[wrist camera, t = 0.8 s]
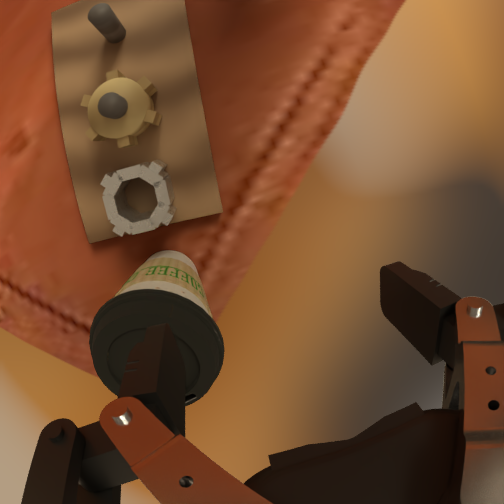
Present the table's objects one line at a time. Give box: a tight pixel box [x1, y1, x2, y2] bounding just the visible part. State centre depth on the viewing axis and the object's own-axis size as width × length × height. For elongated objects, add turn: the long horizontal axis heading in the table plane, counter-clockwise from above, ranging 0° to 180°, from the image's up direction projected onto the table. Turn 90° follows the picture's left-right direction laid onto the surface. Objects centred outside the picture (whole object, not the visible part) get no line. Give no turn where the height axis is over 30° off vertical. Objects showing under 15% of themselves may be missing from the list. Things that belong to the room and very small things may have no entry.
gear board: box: [52, 0, 223, 244], centre depth 23 cm, size 26×14×8 cm, turn 10°
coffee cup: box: [89, 250, 224, 406], centre depth 26 cm, size 10×10×15 cm
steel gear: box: [101, 159, 176, 237], centre depth 27 cm, size 6×6×4 cm
